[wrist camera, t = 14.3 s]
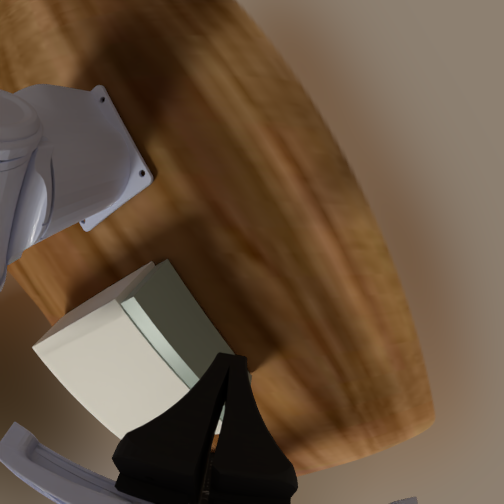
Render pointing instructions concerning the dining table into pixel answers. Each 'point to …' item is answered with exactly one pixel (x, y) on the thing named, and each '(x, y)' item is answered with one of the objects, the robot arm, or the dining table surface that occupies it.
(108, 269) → the dining table surface
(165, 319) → the grey green drawer
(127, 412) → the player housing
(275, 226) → the dining table surface
